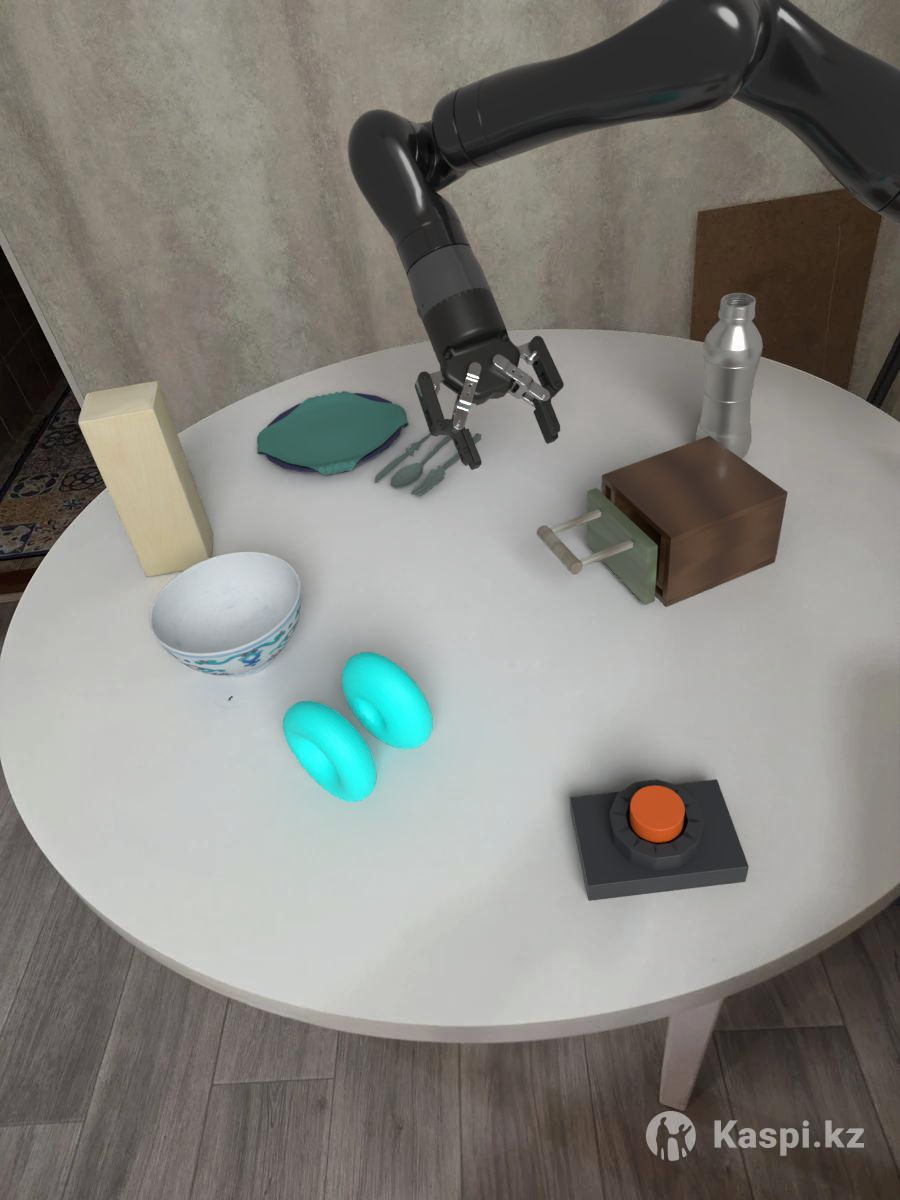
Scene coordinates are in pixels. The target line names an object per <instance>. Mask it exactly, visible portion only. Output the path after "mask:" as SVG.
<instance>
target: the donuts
mask: <svg viewBox="0 0 900 1200" xmlns="http://www.w3.org/2000/svg"><path fill="white" fill-rule="evenodd" d="M341 687H342V692H343V694H344V698H345V700H346V702H347V704H348V706H349V708H350V710H351V711H352V712H353V714H354V716H355V717H356V718H357V719H358V721H359V722H360V723H361V724H362V726H363V727H365V729H367V730H368V731H369V732H370V734H372V735H373V736H374V737H376V738H377V739H378V740H380V741H381V742H383V743H385V744H386V745H389V746H391V747H393V748H396V749H402V750H414V749H416V748H419V747H421V746H423V745H424V744H425V743H426V742H427V741H428V740H429V739H430V736H431V735H432V731H433V728H434V727H433V726H434V719H433V712H432V710H431V707H430V705H429V702H428V700H427V698H426V696H425V695H424V693H423V691H422V690H421V688H420V686H418V684H417V683H416V682H415V680H414V679H413V678H412V677H411V675H410V674H409V673H408V672H406V671H405V670H404V669H403V668H402V667H401V666H400V665H398V664H397V663H396V662H394V661H393V660H392V659H390V658H388V657H386V656H385V655H382V654H380V653H377V652H373V651H362V652H358V653H356V654H354V655H352V656H351V657H350V658H348V659H347V661H346V662H345V664H344V666H343V668H342V673H341ZM282 730H283V734H284V739H285V741H286V743H287V745H288V747H289V749H290V750H291V752H292V753H293V755H294V757H295V759H296V760H297V761H298V763H299V764H300V765H301V767H302V768H303V769H304V770H305V771H306V773H307V774H308V775H309V777H311V778H312V779H313V780H314V781H315V782H316V783H317V784H318V785H319V786H320V787H321V788H323V789H324V790H325V791H326V792H327V793H329V794H330V795H332V796H333V797H335V798H338V799H339V800H341V801H345V802H349V803H351V802H352V803H357V802H360V801H364V800H365V799H367V798H368V797H369V796H370V795H371V794H372V792H373V791H374V790H375V787H376V784H377V778H378V777H377V766H376V762H375V759H374V756H373V753H372V751H371V749H370V747H369V746H368V743H367V742H366V740H365V739H364V737H363V736H362V735H361V734H360V733H359V731H358V730H357V729H356V728H355V727H354V725H353V724H352V723H351V722H350V721H349V720H348V719H347V718H346V717H345V716H343V715H342V714H341V713H340V712H338V711H337V710H335V709H333V707H330V706H328V705H326V704H324V703H322V702H319V701H314V700H302V701H298V702H296V703H294V704H292V705H291V706H290V707H289V708H287V710H286V712H285V714H284V716H283V719H282Z"/></svg>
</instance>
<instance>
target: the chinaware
mask: <svg viewBox="0 0 900 1200" xmlns="http://www.w3.org/2000/svg"><path fill="white" fill-rule="evenodd" d="M301 585H302V584H301V581H300V577H299V575H298V572H297V571H296V570H295V568H294V567H293V566H292V565H291V564H290V562H289V563H288V562H287V561H286V560H284V559H283V558H281V557H279V556H276V555H273V554H271V553H267V552H261V551H236V552H229V553H223V554H220V555H216V556H212V558H210V559H207V560H204V561H202V562H199V563H197V564H195V565H193V566H191V567H190V568H188V569H186V570H184V571H180V572H179V573H178V574H177V575H176V576H174V577H173V578H172V579H170V581H168V582H167V584H165V586H164V587H163V588H162V589H161V590H160V591H159V592H158V594H157V596H156V597H155V599H154V601H153V603H152V606H151V608H150V611H149V627H150V630H151V633H152V635H153V636H154V638H155V639H156V641H157V642H158V643H159V645H161V647H162V648H163V649H164V650H165V651H166V652H167V653H168V654H169V655H170V656H171V657H173V658H174V659H175V660H176V661H178V663H179V662H180V663H181V664H183V665H184V666H185V667H188V668H189V669H192V670H195V671H197V672H200V673H204V674H207V675H214V676H227V677H233V678H242V677H248V676H251V675H254V674H257V673H260V671H262V670H264V669H266V668H267V667H268V666H269V665H270V664H271V663H273V661H274V659H275V658H276V657H277V655H279V654H280V653H281V652H282V651H283V649H284V648H285V647H286V646H287V645H288V643H289V641H290V640H291V639H292V636H293V635H294V632H295V631H296V627H297V625H298V623H299V619H300V616H301V615H300V614H301V608H302V587H301Z"/></svg>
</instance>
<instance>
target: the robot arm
mask: <svg viewBox="0 0 900 1200" xmlns="http://www.w3.org/2000/svg"><path fill="white" fill-rule="evenodd" d="M731 99H733V100H735V101H737V102H740V103H742V104H744V105H746V106H748V107H749V108H751V109H754V110H755V111H757V112H759V113H761V114H763V115H765V116H767V117H769V118H770V119H772V120H774V121H776V123H779V124H780V125H782V126H783V127H784V128H786V129H787V130H789V132H791V133H792V134H793V135H794V136H795V137H796V138H797V139H799V141H801V142H802V144H804V146H805V147H806V148H807V149H808V150H809V151H810V152H811V154H813V156H814V157H815V158H816V159H817V160H818V162H819V163H820V164H821V166H823V167H824V168H825V170H826V171H827V172H828V173H829V174H830V175H831V176H832V177H833V179H835V180H836V181H837V182H838V183H839V184H840V185H841V186H842V187H843V188H844V189H845V190H846V191H847V192H848V193H849V194H851V195H852V196H853V197H854V198H856V199H857V200H858V201H859V202H861V203H862V204H863V205H865V206H866V207H868V208H869V209H870V210H872V211H874V212H876V213H877V214H879V215H880V216H882V217H884V218H885V219H888V220H889V221H890V222H892V223H894V224H895V225H897V226H900V67H898V66H897V65H895V64H893V63H891V62H889V61H887V60H884V59H882V58H881V57H879V56H877V55H875V54H872V53H871V52H868V51H866V50H863V49H862V48H859V47H857V46H856V45H853V44H852V43H850V42H848V41H846V40H844V39H842V37H840V36H838V35H837V34H834V33H833V32H832V31H830V29H827V28H826V27H825V26H823V25H822V24H821V23H820V22H819V21H817V20H815V19H814V18H813V17H811V16H810V15H809V14H807V13H806V12H805V11H804V10H802V9H801V8H800V7H798V6H797V4H795V3H793V2H792V1H791V0H661V1H660V2H659V3H658V4H657V6H656V8H654V9H652V10H651V11H648V13H646V14H645V15H643V16H641V17H640V18H639V19H637V20H636V21H634V22H632V23H631V24H629V25H627V26H625V27H624V28H622V29H621V30H619V31H617V32H616V33H614V34H612V35H611V36H609V37H607V38H605V39H603V40H601V41H599V42H597V43H595V44H593V45H590V46H588V47H585V48H583V49H580V50H578V51H575V52H573V53H570V54H566V55H562V56H559V57H555V58H550V59H546V60H540V61H534V62H529V63H525V64H521V65H520V64H519V65H517V66H514V67H509V68H506V69H504V70H501V71H498V72H495V73H493V74H490V75H488V76H485V77H483V78H481V79H478V80H476V81H473V82H470V83H468V84H465V85H463V86H460V87H459V88H456V89H454V90H451V91H450V92H448V93H446V94H445V95H443V96H442V97H441V98H439V100H438V101H437V102H436V104H435V105H434V107H433V110H432V114H431V120H427V121H423V122H416V121H414V120H412V119H409V118H407V117H404V116H403V115H400V114H398V113H396V112H395V111H392V110H391V111H390V110H387V109H383V108H382V109H380V108H379V109H378V108H376V109H371V110H368V111H365V112H364V113H362V114H361V115H360V116H358V117H357V119H356V120H355V121H354V123H353V124H352V126H351V128H350V132H349V134H348V138H347V139H348V140H347V158H348V159H347V160H348V164H349V168H350V172H351V174H352V176H353V179H354V181H355V183H356V185H357V188H358V189H359V190H360V192H361V194H362V196H363V197H364V199H365V200H366V202H367V204H368V205H369V206H370V209H371V210H372V212H373V213H374V214H375V216H376V217H377V219H378V220H379V223H381V225H382V226H383V228H384V229H385V230H386V231H387V233H388V234H389V236H390V238H391V239H392V241H393V244H394V246H395V249H396V252H397V254H398V257H399V259H400V262H401V265H402V267H403V270H404V272H405V275H406V277H407V281H408V283H409V287H410V291H411V295H412V300H413V301H414V304H415V306H416V307H415V308H416V312H417V314H418V318H420V320H421V322H422V325H423V327H424V329H425V332H426V334H427V337H428V339H429V342H430V345H431V347H432V350H433V352H434V355H435V357H436V359H437V362H438V363H439V369H440V370H439V371H435V372H431V373H430V372H428V371H425V370H424V371H423V370H422V371H420V373H419V374H418V376H417V378H416V380H415V382H414V389H415V392H416V395H417V398H418V402H419V404H420V407H421V410H422V413H423V416H424V420H425V423H426V426H427V428H428V432H429V433H430V434H431V436H433V437H439V436H450V437H451V438H452V442H453V444H454V447H455V450H456V451H457V452H456V453H458V454H459V456H460V461H461V463H462V465H464V466H465V467H467V466H468V467H469V469H470V470H471V471H474V470H476V469H479V468H480V467H481V466H482V465H483V464H482V462H483V461H482V459H481V458H482V457H481V455H480V453H479V450H478V448H477V445H476V444H475V443H474V441H473V438H472V437H473V436H472V433H471V431H470V428H466V427H465V426H466V423H467V419H468V415H469V412H470V408H471V407H472V404H473V405H476V406H479V405H483V404H485V403H486V402H488V401H489V400H495V399H497V400H498V399H500V398H504V397H505V396H506V395H507V394H509V395H511V396H512V397H514V398H515V399H518V400H519V399H520V400H521V401H524V402H525V403H526V404H528V405H530V406H531V407H533V408H534V410H533V411H532V412H533V415H534V418H535V420H536V422H537V425H538V428H539V430H540V432H541V435H542V437H543V440H544V442H545V443H546V444H547V445H549V444H551V443H554V442H555V441H556V440H558V439H559V433H560V432H561V423H560V422H559V420H558V417H557V414H556V412H555V409H554V407H553V404H552V399H553V398H555V397H556V396H557V394H559V392H560V391H561V390H562V389H563V388H564V386H565V385H564V384H565V383H564V381H563V379H562V376H561V374H560V372H559V370H558V368H557V366H556V364H555V361H554V360H553V358H552V355H551V353H550V350H549V349H548V347H547V345H546V343H545V341H544V338H543V337H542V336H540V335H535V336H533V337H532V339H531V340H530V341H528V342H525V343H523V344H520V345H518V346H517V345H516V344H515V343H513V341H512V340H511V339H510V336H509V332H508V330H507V327H506V324H505V322H504V319H503V317H502V314H501V312H500V309H499V307H498V305H497V302H496V299H495V296H494V294H493V292H492V289H491V287H490V284H489V283H488V280H487V277H486V274H485V272H484V270H483V267H482V266H481V264H480V262H479V260H478V258H477V257H476V254H475V253H474V252H473V249H472V245H471V243H470V241H469V238H468V237H467V234H466V231H465V230H464V226H463V224H462V221H461V219H460V217H459V215H458V212H457V211H456V208H455V207H454V206H453V204H452V203H451V202H450V201H449V200H448V199H446V198H445V197H443V196H442V195H441V194H440V193H439V192H440V191H442V190H444V189H445V188H447V187H449V186H450V185H452V184H453V183H455V182H457V181H459V180H461V178H464V176H466V175H467V174H468V173H470V171H472V170H476V169H481V168H484V167H487V166H489V165H492V164H495V163H499V162H501V161H504V160H508V159H510V158H513V157H516V156H519V155H521V154H525V153H528V152H530V151H532V150H535V149H538V148H542V147H544V146H547V145H549V144H553V143H556V142H558V141H561V140H565V139H568V138H571V137H575V136H577V135H578V136H579V135H581V134H585V133H589V132H593V131H597V130H602V129H606V128H611V127H616V126H620V125H625V124H630V123H631V124H632V123H636V122H637V123H638V122H645V121H653V120H661V119H665V118H666V119H667V118H675V117H680V116H687V115H693V114H699V113H704V112H708V111H712V110H714V109H717V108H718V107H721V106H722V105H724V104H726V103H727V102H729V101H730V100H731ZM520 359H522V360H524V362H525V363H526V364H527V365H530V366H532V369H533V370H534V373H535V375H536V377H537V379H538V381H539V383H537V382H536V381H535V380H534V378H533V377H532V376H531V375H530V374H528V373H527V372H525V371H524V370H522V369H521V368H519V363H520ZM441 384H443V386H445V387H446V388H447V389H449V390H451V391H452V392H453V393H455V394H456V398H455V401H454V405H453V408H452V413H451V418H445V416H444V412H443V410H442V406H441V404H440V400H439V397H438V394H439V393H440V391H441Z"/></svg>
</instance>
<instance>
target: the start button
mask: <svg viewBox="0 0 900 1200" xmlns="http://www.w3.org/2000/svg"><path fill="white" fill-rule="evenodd" d="M684 813H685V808H684V804H683V801H682V800H681V798H680V797H679V796H678V795H677V794H676V793H675V792H674V791H672V790H671V789H669V788H666V787H663V786H656V785H653V786H647V787H644V788H642V789H640V790H639V791H637V792H636V793H635V794H634V796H633V797H632V799H631V803H630V823H631V826H632V828H633V830H634V831H635V832H636V833H637V834H638V835H639V836H640V837H642V838H643V839H645V840H647V841H650V842H655V843H663V842H668V841H670V840H672V839H674V838H675V837H677V836H678V835H679V834H680V832H681V830H682V828H683V822H684Z"/></svg>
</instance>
